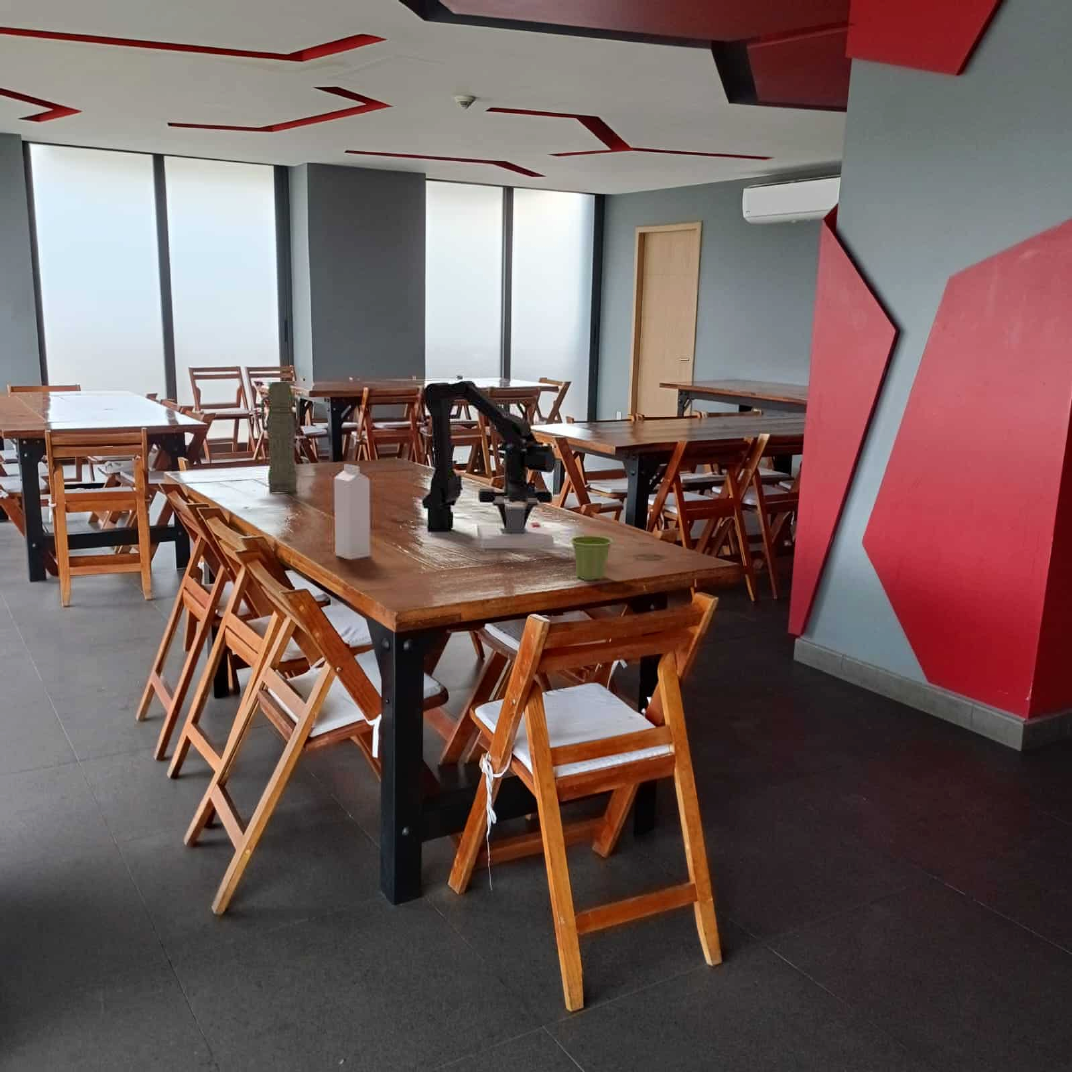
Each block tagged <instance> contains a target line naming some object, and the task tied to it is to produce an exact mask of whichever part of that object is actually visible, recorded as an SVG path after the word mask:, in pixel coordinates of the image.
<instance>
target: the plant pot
mask: <svg viewBox="0 0 1072 1072" xmlns="http://www.w3.org/2000/svg"><path fill="white" fill-rule="evenodd" d="M570 541H571V543H572V548H573V549H574V556H575V557H574V559H575V566H576V575H577V577H578V578H580V580H586V581H593V580H596V579H597V580H602V579H604V578H605V576H606V575H605V573H606V569H607V568H606V567H607V562H608V556H609V550H610V549H611V545H612V544H613V540H612V538H610V537H609V538H608V537H604V536H597V535H579V536H575V537H572V538H571V539H570Z"/></svg>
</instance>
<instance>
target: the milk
mask: <svg viewBox="0 0 1072 1072" xmlns="http://www.w3.org/2000/svg"><path fill="white" fill-rule="evenodd" d="M333 485H334V491H333V492H334V497H333V498H334V545H335V546H334V547H335V548H334V550H335V551H334V555H335V556H338V557H340V558H344V559H347V560H356V559H361V558H366V557H367V558H368V557H370V556H371V525H370V524H371V518H370V512H371V511H370V509H371V507H370V502H371V501H370V497H371V495H370V492H371V491H370V488H371V487H370V486H371V485H370V478H368V477H367V476H365V475H363V474H362V473H360V466H358V465H354V464H353V465H352V464H349V463H348V464H347V463H344V464H343V470H342V471H341V472H340V473H338V474H337V475H336V476H335V477H334V479H333Z"/></svg>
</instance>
